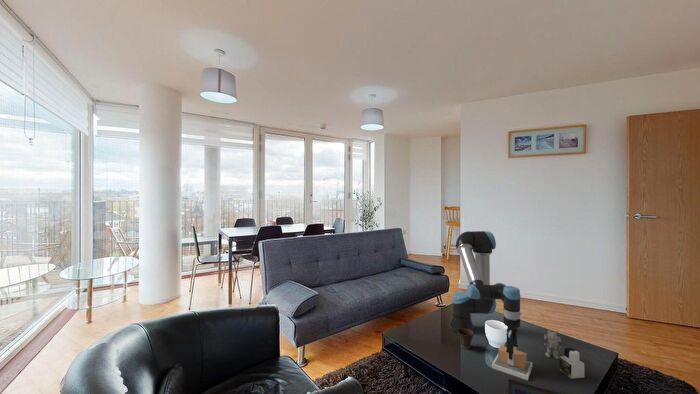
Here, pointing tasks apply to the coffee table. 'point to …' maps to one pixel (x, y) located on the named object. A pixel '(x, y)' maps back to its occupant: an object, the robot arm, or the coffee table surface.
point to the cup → (465, 337)
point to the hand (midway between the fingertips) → (512, 361)
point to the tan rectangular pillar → (519, 357)
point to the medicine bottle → (571, 364)
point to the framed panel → (513, 369)
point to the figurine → (552, 343)
